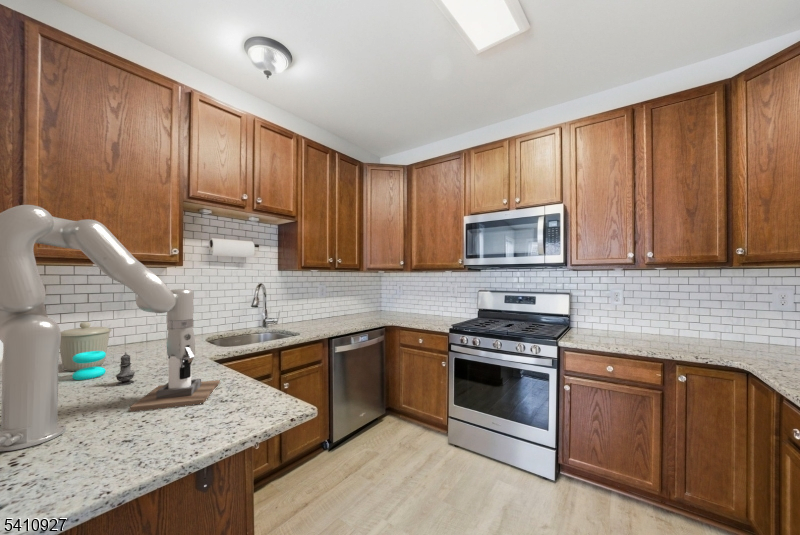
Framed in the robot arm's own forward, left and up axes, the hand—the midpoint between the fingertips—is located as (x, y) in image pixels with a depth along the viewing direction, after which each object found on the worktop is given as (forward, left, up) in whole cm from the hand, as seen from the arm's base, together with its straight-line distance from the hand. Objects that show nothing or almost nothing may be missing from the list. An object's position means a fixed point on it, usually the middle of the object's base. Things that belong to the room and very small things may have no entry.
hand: (179, 376), depth 110 cm
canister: (+53, +56, -7) cm, 77 cm away
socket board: (0, 0, -7) cm, 7 cm away
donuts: (+36, +45, -7) cm, 58 cm away
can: (0, 0, -5) cm, 5 cm away
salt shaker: (+22, +26, -7) cm, 35 cm away
